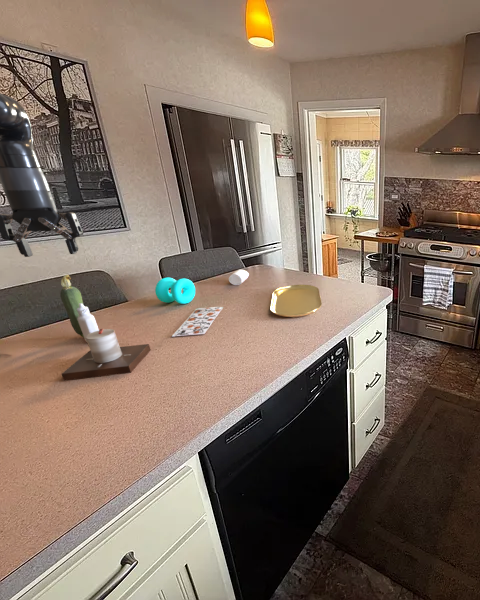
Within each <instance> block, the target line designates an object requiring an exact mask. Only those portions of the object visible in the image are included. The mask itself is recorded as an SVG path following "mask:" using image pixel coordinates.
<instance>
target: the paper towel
mask: <svg viewBox="0 0 480 600" xmlns="http://www.w3.org/2000/svg"><path fill="white" fill-rule="evenodd" d="M223 308H224V307H223V306H210V307H208V306H207V307H197V308H195V309H194V311H192V313H190V315H189V316H188V317H187V318H186V320H185V321H184V322H183V323H182V324H181V325H180V326H179V327H178V329H177V330H175V332H174V333H173V334H172V336H171V337H185V336H197V335H205V334H206V333H207V331H208V330H209V328H210V327H211V326H212V324H213V323H214V321H215V320H216V318H217V317H218V316H219V314H220V312H221V311H222V310H223Z"/></svg>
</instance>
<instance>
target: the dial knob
mask: <svg viewBox="0 0 480 600" xmlns="http://www.w3.org/2000/svg"><path fill="white" fill-rule="evenodd" d="M86 340H87V342H86V343H87V345H88V347H89V351H90V350H91V353H92V356H93V358H94V361H95V362H96V363H105V362H109V361H113V360H115V359H117V358H119V357H120V356H121V355H122V352H121V349H120V347H121V346H120V344H119V343H120V342H119V340H118V337H117V334H116V331H115V330H114V329H112V328H106V329H105V328H99V331H95V332H92V333H90V334H88V335H87V336H86Z"/></svg>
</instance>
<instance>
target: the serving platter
mask: <svg viewBox="0 0 480 600" xmlns="http://www.w3.org/2000/svg"><path fill="white" fill-rule="evenodd" d="M322 305H323V302H322V297H321V293H320V289H319V288H318V286H316V285H311V284H291V285H285V286H282V287H279V288H277V289H275V290H274V291H273V292H272V295H271V302H270V308H269V311H271V312H272V314H273V315H275V316H277V317H283V318H299V317H304V316H309V315H311V314H314V313H316V312H317V311H319V310H320V309H321V307H322Z"/></svg>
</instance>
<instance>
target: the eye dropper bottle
mask: <svg viewBox="0 0 480 600" xmlns="http://www.w3.org/2000/svg"><path fill="white" fill-rule="evenodd" d="M77 312H78V314H79V316H78V322H79V325H80V328H81V330H82V333H83V336H84V337H83V339H84V341H85V342H86V343H88V342H87V340H86V336H87V335H88V334H90V333H92V332H95V331H99V330H100V328H99V326H98V323H97V321H96V317H95V316H94V315H93V314H91V311H90V309H89V307H88V306H85V305H84V303H83V304H82V303H80V304H79V308H77Z"/></svg>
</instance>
